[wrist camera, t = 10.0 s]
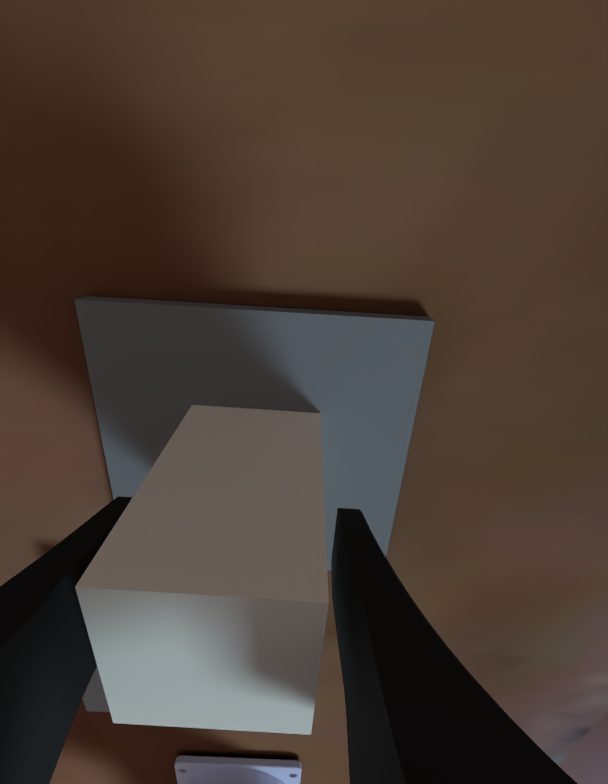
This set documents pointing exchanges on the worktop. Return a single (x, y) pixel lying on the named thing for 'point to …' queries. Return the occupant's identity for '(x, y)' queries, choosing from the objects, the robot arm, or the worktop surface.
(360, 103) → the worktop surface
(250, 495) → the square peg block
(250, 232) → the worktop surface
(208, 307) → the rubber mat
